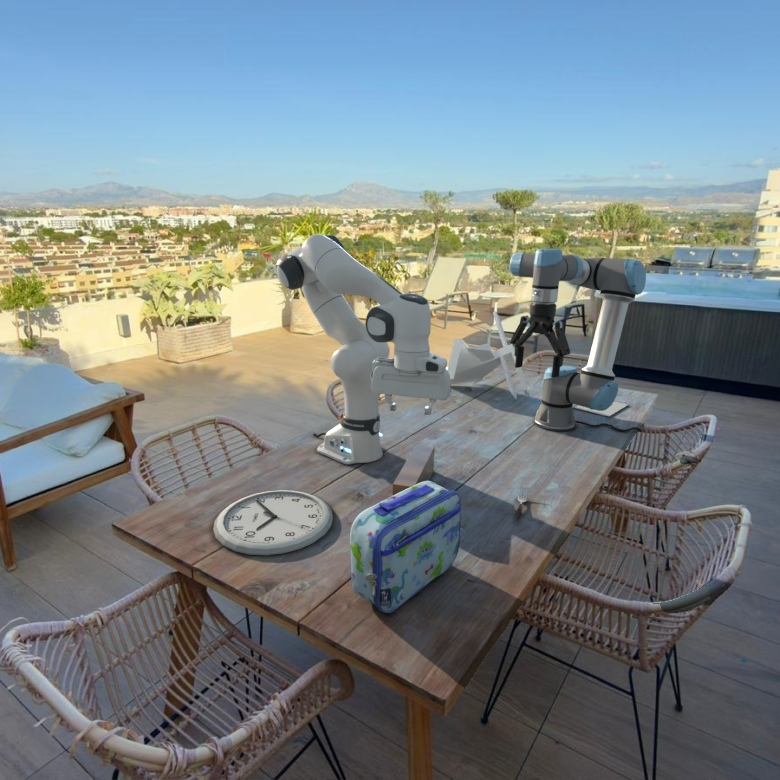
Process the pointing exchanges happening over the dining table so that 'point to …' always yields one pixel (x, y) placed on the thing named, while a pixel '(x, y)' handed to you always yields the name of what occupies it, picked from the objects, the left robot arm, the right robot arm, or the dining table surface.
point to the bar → (415, 468)
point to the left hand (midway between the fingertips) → (410, 412)
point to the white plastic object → (483, 361)
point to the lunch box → (404, 544)
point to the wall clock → (273, 522)
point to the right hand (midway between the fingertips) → (536, 371)
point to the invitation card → (608, 412)
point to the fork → (521, 499)
